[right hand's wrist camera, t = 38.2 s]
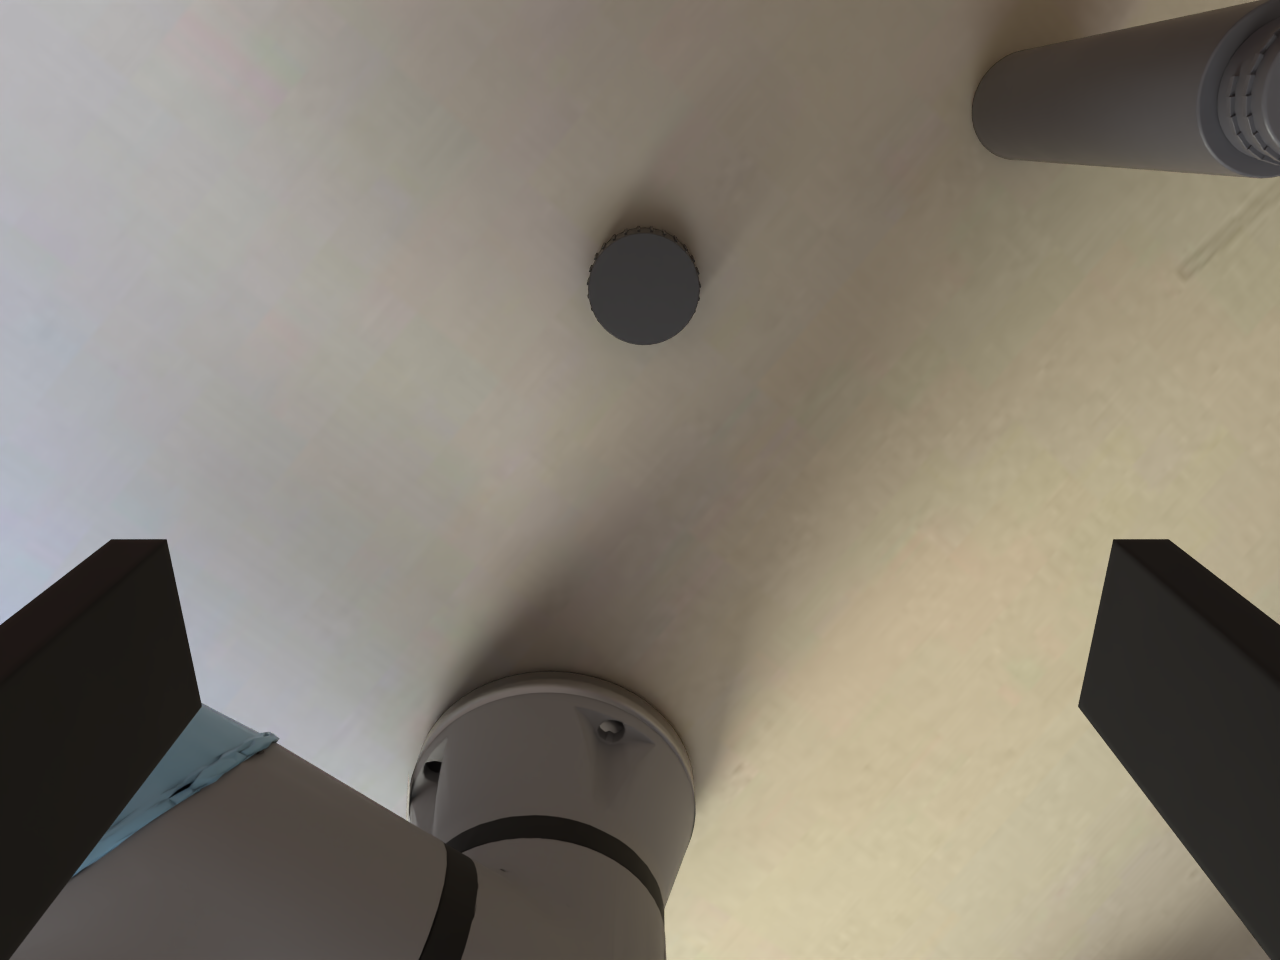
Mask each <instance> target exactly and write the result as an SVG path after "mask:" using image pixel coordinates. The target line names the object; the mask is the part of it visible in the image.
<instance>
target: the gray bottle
mask: <svg viewBox="0 0 1280 960" xmlns="http://www.w3.org/2000/svg"><path fill="white" fill-rule="evenodd" d="M972 120H973V125H974V129H975V132H976V134H977V136H978V138H979V140H980V141H981V143H982V144H983V145H984V146H985V148H986V149H988V150H989V151H990V152H991V153H993V154H995V155H997V156H999V157H1002V158H1005V159H1011V160H1024V161H1038V162H1051V163H1064V164H1078V165H1091V166H1104V167H1117V168H1131V169H1144V170H1157V171H1171V172H1184V173H1197V174H1211V175H1224V176H1237V177H1250V178H1272V177H1277V176H1280V0H1259V1H1255V2H1250V3H1245V4H1240V5H1236V6H1231V7H1226V8H1221V9H1217V10H1212V11H1207V12H1203V13H1198V14H1193V15H1188V16H1184V17H1179V18H1174V19H1170V20H1165V21H1160V22H1155V23H1151V24H1146V25H1141V26H1136V27H1132V28H1127V29H1122V30H1118V31H1113V32H1108V33H1103V34H1099V35H1094V36H1089V37H1084V38H1080V39H1075V40H1070V41H1066V42H1061V43H1056V44H1051V45H1047V46H1042V47H1037V48H1033V49H1028V50H1023V51H1018V52H1015V53H1012V54H1010V55H1008V56H1006V57H1004V58H1003V59H1001V60H1000V61H998V62H997V63H996V64H995V65H994V66H992V68H991V69H990V70H989V71H988V72H987V73H986V74H985V76H984V77H983V79H982V80H981V82H980V84H979V86H978V88H977V90H976V93H975V97H974V101H973V106H972Z"/></svg>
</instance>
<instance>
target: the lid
mask: <svg viewBox="0 0 1280 960" xmlns="http://www.w3.org/2000/svg"><path fill="white" fill-rule="evenodd" d="M594 260H595V262H594V265H591V267H590V270H589V272H591V273H590V277H589V279H588V282H587V285H588V292H589V293H588V298H589V300H590V304H591V307H592V308H591V310H592V311H593V312H594V314H595V317H596V318H597V320H598V322H599V323H600V324H601V325H602V326H603V327H604V329H606V330H607V331H608V332H609V333H610V334H612V335H613V336H615V337H616V338H618V339H620V340H622V341H625V342H628V343H632V344H637V345H651V344H657V343H660V342H663V341H665V340H668V339H670V338H671V337H673V336H675V335H676V334H677V333H679V332H680V331H681V330H682V329H683V328H684V327H685V326H686V325H687V324H688V323H689V321H690V319H691V318H692V316H693V314H694V313H695V311H696V307H697V304H698V301H699V299H700V298H699V292H700V288H701V284H700V282H699V278H698V274H699V271H698V269H697V267H695V265H694V263H693V262H695V260H694V258H693V256H692V255H691V256H690V254H689V253H688V251H687V247H686V245H685V244H684V245H682V244H681V243H680V242H679V241H678V240H677V237H676V236H674V237H673V236H671V235H669V234H667V233H666V232H665V230H663V231H660V230H657V229H653V227H650V228H640V226H637V228H636V229H631V230H628V231H627V229H625V231H624V232H622V233H620V234H618V235H617V236H616V235H613V238H612V239H611V240H610V241H609V242H607V243H604V244H603V247H602V249H601V251H600V252H599V254H598V253H596V255H595V258H594Z"/></svg>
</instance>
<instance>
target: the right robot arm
mask: <svg viewBox="0 0 1280 960" xmlns="http://www.w3.org/2000/svg"><path fill="white" fill-rule="evenodd" d="M1078 707H1079V708H1080V710H1081V711H1082V712H1083V714H1084V715H1085V716H1086V718H1087V719H1088V720H1089V721H1090V723H1091V724H1092V725H1093V727H1094V728H1095V729H1096V731H1097V732H1098V733H1099V735H1100V736H1101V737H1102V739H1103V740H1104V741H1105V742H1106V744H1107V745H1108V746H1109V748H1110V749H1111V750H1112V752H1113V753H1114V754H1115V756H1116V757H1117V758H1118V760H1119V761H1120V762H1121V763H1122V765H1123V766H1124V767H1125V769H1126V770H1127V771H1128V773H1129V774H1130V775H1131V777H1132V778H1133V779H1134V781H1135V782H1136V783H1137V784H1138V786H1139V787H1140V788H1141V790H1142V791H1143V792H1144V794H1145V795H1146V796H1147V798H1148V799H1149V800H1150V802H1151V803H1152V804H1153V805H1154V807H1155V808H1156V809H1157V811H1158V812H1159V813H1160V815H1161V816H1162V817H1163V819H1164V820H1165V821H1166V823H1167V824H1168V825H1169V826H1170V828H1171V829H1172V830H1173V832H1174V833H1175V834H1176V836H1177V837H1178V838H1179V840H1180V841H1181V842H1182V844H1183V845H1184V846H1185V847H1186V849H1187V850H1188V851H1189V853H1190V854H1191V855H1192V857H1193V858H1194V859H1195V861H1196V862H1197V863H1198V865H1199V866H1200V867H1201V868H1202V870H1203V871H1204V872H1205V874H1206V875H1207V876H1208V878H1209V879H1210V880H1211V882H1212V883H1213V884H1214V886H1215V887H1216V888H1217V889H1218V891H1219V892H1220V893H1221V895H1222V896H1223V897H1224V899H1225V900H1226V901H1227V903H1228V904H1229V905H1230V907H1231V908H1232V909H1233V910H1234V912H1235V913H1236V914H1237V916H1238V917H1239V918H1240V920H1241V921H1242V922H1243V924H1244V925H1245V926H1246V928H1247V929H1248V930H1249V931H1250V933H1251V934H1252V935H1253V937H1254V938H1255V939H1256V941H1257V942H1258V943H1259V945H1260V946H1261V947H1262V949H1263V950H1264V951H1265V952H1266V954H1267V955H1268V956H1269V958H1270V959H1271V960H1280V625H1279V624H1278V623H1276V622H1275V621H1274V620H1272V619H1271V618H1270V617H1269V616H1267V615H1266V614H1265V613H1263V612H1262V611H1261V610H1259V609H1258V608H1257V607H1256V606H1254V605H1253V604H1252V603H1250V602H1249V601H1248V600H1247V599H1245V598H1244V597H1243V596H1241V595H1240V594H1239V593H1237V592H1236V591H1235V590H1234V589H1232V588H1231V587H1230V586H1228V585H1227V584H1226V583H1224V582H1223V581H1222V580H1221V579H1219V578H1218V577H1217V576H1215V575H1214V574H1213V573H1212V572H1210V571H1209V570H1208V569H1206V568H1205V567H1204V566H1202V565H1201V564H1200V563H1199V562H1197V561H1196V560H1195V559H1193V558H1192V557H1191V556H1189V555H1188V554H1187V553H1186V552H1184V551H1183V550H1182V549H1180V548H1179V547H1178V546H1177V545H1175V544H1174V543H1173V542H1171V541H1170V540H1169V539H1113V544H1112V548H1111V553H1110V558H1109V563H1108V567H1107V572H1106V577H1105V582H1104V586H1103V591H1102V596H1101V600H1100V605H1099V610H1098V615H1097V619H1096V624H1095V629H1094V634H1093V638H1092V643H1091V648H1090V653H1089V657H1088V662H1087V667H1086V671H1085V676H1084V681H1083V686H1082V690H1081V695H1080V700H1079V705H1078ZM278 740H279V738H278V737H277V736H275V735H274V734H273V733H271V732H265V733H258V732H257V731H255V730H253V729H251V728H249V727H247V726H245V725H243V724H241V723H239V722H237V721H235V720H233V719H231V718H229V717H227V716H225V715H223V714H221V713H220V712H218V711H216V710H214V709H212V708H210V707H208V706H206V705H204V704H202V703H201V700H200V695H199V690H198V686H197V681H196V676H195V671H194V667H193V662H192V657H191V653H190V648H189V643H188V638H187V634H186V629H185V624H184V619H183V615H182V610H181V605H180V600H179V596H178V591H177V586H176V582H175V577H174V572H173V567H172V563H171V558H170V553H169V548H168V544H167V539H111V540H110V541H109V542H107V543H106V544H105V545H103V546H102V547H101V548H100V549H98V550H97V551H96V552H94V553H93V554H92V555H91V556H89V557H88V558H87V559H85V560H84V561H83V562H81V563H80V564H79V565H78V566H76V567H75V568H74V569H72V570H71V571H70V572H68V573H67V574H66V575H65V576H63V577H62V578H61V579H59V580H58V581H57V582H56V583H54V584H53V585H52V586H50V587H49V588H48V589H46V590H45V591H44V592H43V593H41V594H40V595H39V596H37V597H36V598H35V599H33V600H32V601H31V602H30V603H28V604H27V605H26V606H24V607H23V608H22V609H21V610H19V611H18V612H17V613H15V614H14V615H13V616H11V617H10V618H9V619H8V620H6V621H5V622H4V623H2V624H1V625H0V960H666V944H665V930H664V908H665V906H666V903H667V900H668V898H669V895H670V892H671V890H672V887H673V884H674V882H675V879H676V876H677V874H678V871H679V868H680V866H681V863H682V860H683V857H684V855H685V852H686V850H687V847H688V845H689V842H690V839H691V836H692V832H693V828H694V822H695V794H694V782H693V774H692V768H691V764H690V760H689V757H688V755H687V752H686V750H685V747H684V745H683V743H682V742H681V740H680V738H679V736H678V735H677V733H676V732H675V730H674V729H673V727H672V726H671V725H670V724H669V723H668V721H667V720H666V719H665V718H664V717H663V716H662V715H661V714H660V713H659V712H658V711H657V710H656V709H655V708H653V707H652V706H651V705H650V704H648V703H647V702H646V701H644V700H643V699H641V698H640V697H638V696H637V695H635V694H633V693H632V692H630V691H628V690H626V689H624V688H622V687H620V686H617V685H615V684H613V683H610V682H608V681H605V680H601V679H598V678H595V677H591V676H586V675H582V674H575V673H569V672H533V673H524V674H519V675H514V676H509V677H506V678H503V679H499V680H496V681H494V682H491V683H488V684H486V685H484V686H482V687H480V688H478V689H476V690H474V691H472V692H470V693H469V694H467V695H466V696H464V697H462V698H461V699H460V700H458V701H457V702H456V703H455V704H453V705H452V706H451V707H450V708H449V709H448V710H447V711H446V712H445V713H444V714H443V715H442V716H441V717H440V718H439V719H438V721H437V722H436V723H435V724H434V726H433V728H432V729H431V731H430V732H429V734H428V736H427V738H426V740H425V742H424V744H423V746H422V749H421V752H420V755H419V758H418V760H417V763H416V766H415V769H414V772H413V775H412V778H411V783H410V782H409V773H408V791H407V810H406V820H405V819H403V818H401V817H400V816H398V815H396V814H395V813H393V812H391V811H390V810H388V809H386V808H385V807H383V806H381V805H380V804H378V803H376V802H375V801H373V800H371V799H370V798H368V797H366V796H364V795H363V794H361V793H359V792H358V791H356V790H354V789H353V788H351V787H349V786H348V785H346V784H344V783H343V782H341V781H339V780H338V779H336V778H334V777H333V776H331V775H329V774H328V773H326V772H324V771H323V770H321V769H319V768H318V767H316V766H314V765H312V764H311V763H309V762H307V761H306V760H304V759H302V758H301V757H299V756H297V755H296V754H294V753H292V752H291V751H289V750H287V749H286V748H284V747H282V746H281V745H279V744H277V743H276V742H277V741H278ZM408 812H409V815H410V822H408Z"/></svg>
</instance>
